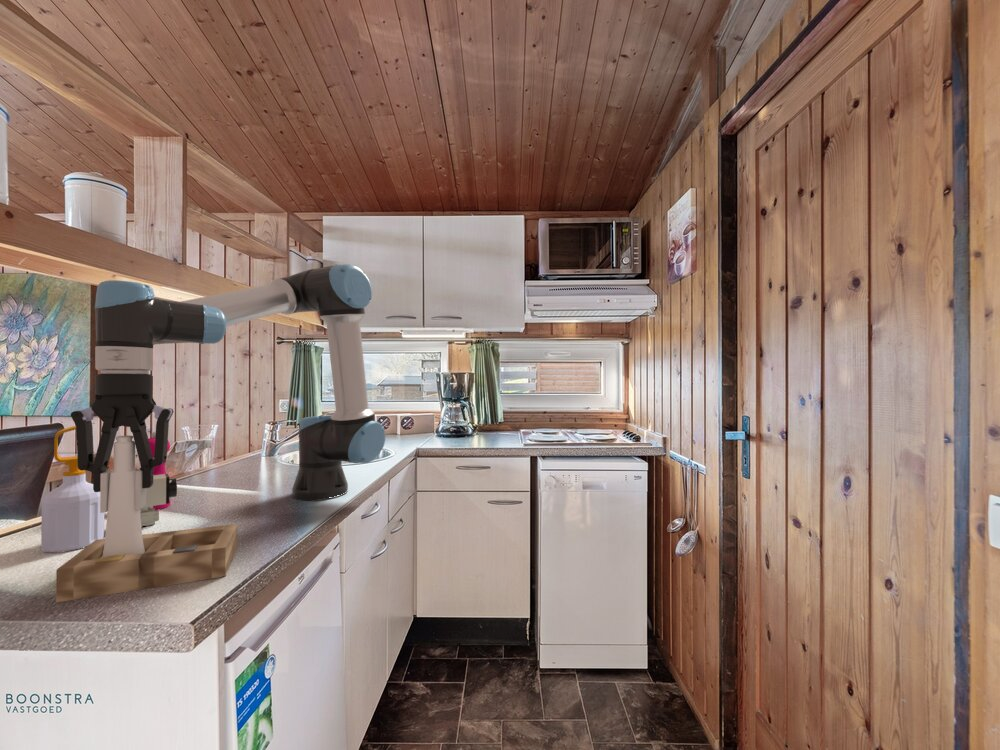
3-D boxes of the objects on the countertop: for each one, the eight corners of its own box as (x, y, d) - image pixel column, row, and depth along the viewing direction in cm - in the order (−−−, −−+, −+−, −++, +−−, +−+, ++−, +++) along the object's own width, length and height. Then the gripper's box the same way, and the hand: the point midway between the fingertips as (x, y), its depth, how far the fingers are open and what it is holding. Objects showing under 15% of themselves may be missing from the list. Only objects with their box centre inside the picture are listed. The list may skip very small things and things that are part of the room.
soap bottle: (104, 544, 88) (105, 424, 88) (39, 557, 82) (40, 428, 82) (103, 533, 94) (104, 421, 95) (42, 544, 88) (43, 424, 88)
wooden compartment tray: (237, 548, 86) (237, 522, 86) (225, 576, 74) (225, 545, 74) (95, 567, 77) (95, 538, 77) (56, 602, 66) (56, 567, 66)
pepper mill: (135, 507, 113) (136, 431, 113) (170, 501, 118) (170, 429, 118) (139, 513, 108) (139, 433, 108) (174, 507, 113) (175, 431, 113)
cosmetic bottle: (155, 557, 77) (156, 434, 77) (125, 572, 71) (127, 438, 71) (121, 556, 77) (122, 433, 77) (89, 572, 71) (90, 438, 71)
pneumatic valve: (176, 522, 102) (177, 471, 102) (109, 533, 94) (110, 479, 94) (174, 516, 106) (175, 467, 106) (110, 527, 98) (111, 474, 98)
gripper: (46, 371, 67) (45, 521, 67) (178, 372, 74) (177, 508, 74) (71, 372, 74) (70, 508, 74) (190, 373, 81) (189, 497, 81)
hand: (123, 508), depth 74 cm, fingers closed on cosmetic bottle, 4 cm apart
